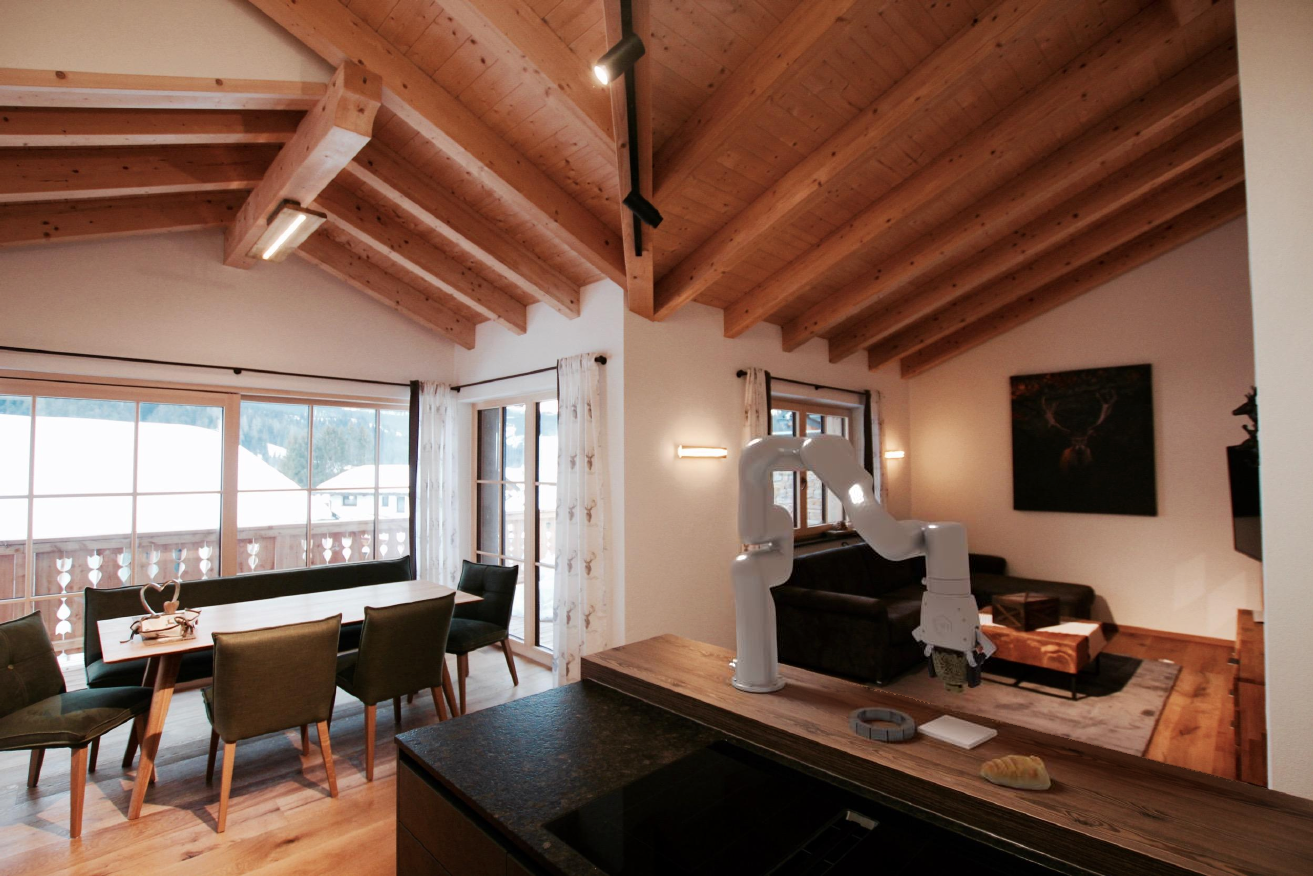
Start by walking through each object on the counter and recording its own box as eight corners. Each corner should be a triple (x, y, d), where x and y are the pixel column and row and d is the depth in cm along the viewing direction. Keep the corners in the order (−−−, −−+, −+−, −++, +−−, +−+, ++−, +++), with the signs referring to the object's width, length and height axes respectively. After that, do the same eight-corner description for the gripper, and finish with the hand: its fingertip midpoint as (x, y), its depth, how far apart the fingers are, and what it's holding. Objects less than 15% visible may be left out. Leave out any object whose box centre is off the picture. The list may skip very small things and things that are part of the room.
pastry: (990, 790, 97) (989, 765, 97) (974, 770, 103) (972, 747, 104) (1055, 792, 96) (1053, 767, 96) (1034, 772, 102) (1033, 748, 102)
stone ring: (838, 727, 122) (837, 716, 122) (874, 713, 129) (874, 703, 129) (890, 746, 113) (889, 735, 113) (926, 730, 119) (926, 720, 119)
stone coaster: (917, 731, 119) (917, 727, 119) (946, 719, 125) (945, 715, 125) (968, 749, 111) (968, 744, 111) (997, 735, 116) (996, 730, 116)
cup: (967, 684, 121) (964, 643, 122) (983, 697, 114) (980, 653, 115) (928, 684, 122) (925, 643, 123) (941, 697, 115) (938, 653, 115)
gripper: (896, 583, 124) (901, 674, 123) (983, 595, 110) (990, 698, 109) (918, 579, 129) (923, 667, 127) (1004, 589, 115) (1011, 688, 113)
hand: (954, 680), depth 118 cm, fingers closed on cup, 6 cm apart
